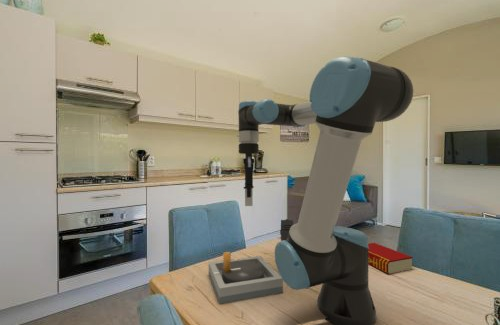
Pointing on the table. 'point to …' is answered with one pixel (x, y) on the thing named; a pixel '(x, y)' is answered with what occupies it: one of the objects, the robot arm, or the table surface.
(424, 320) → the table surface
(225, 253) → the crank dial
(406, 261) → the book
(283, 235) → the tool
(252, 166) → the robot arm
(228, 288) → the square crank box
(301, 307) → the table surface
